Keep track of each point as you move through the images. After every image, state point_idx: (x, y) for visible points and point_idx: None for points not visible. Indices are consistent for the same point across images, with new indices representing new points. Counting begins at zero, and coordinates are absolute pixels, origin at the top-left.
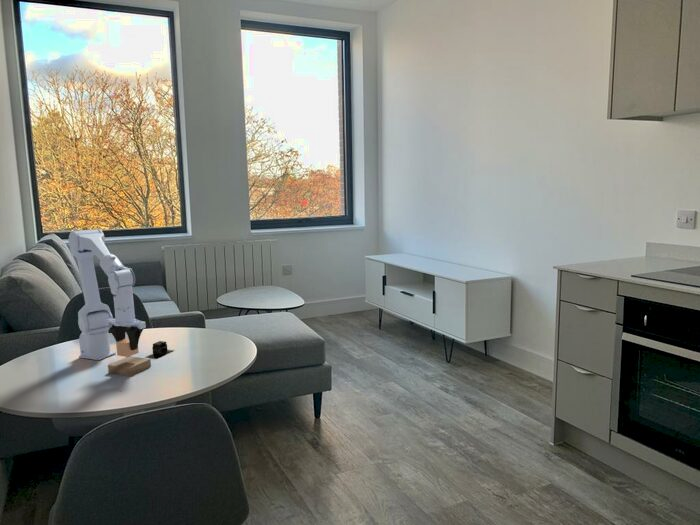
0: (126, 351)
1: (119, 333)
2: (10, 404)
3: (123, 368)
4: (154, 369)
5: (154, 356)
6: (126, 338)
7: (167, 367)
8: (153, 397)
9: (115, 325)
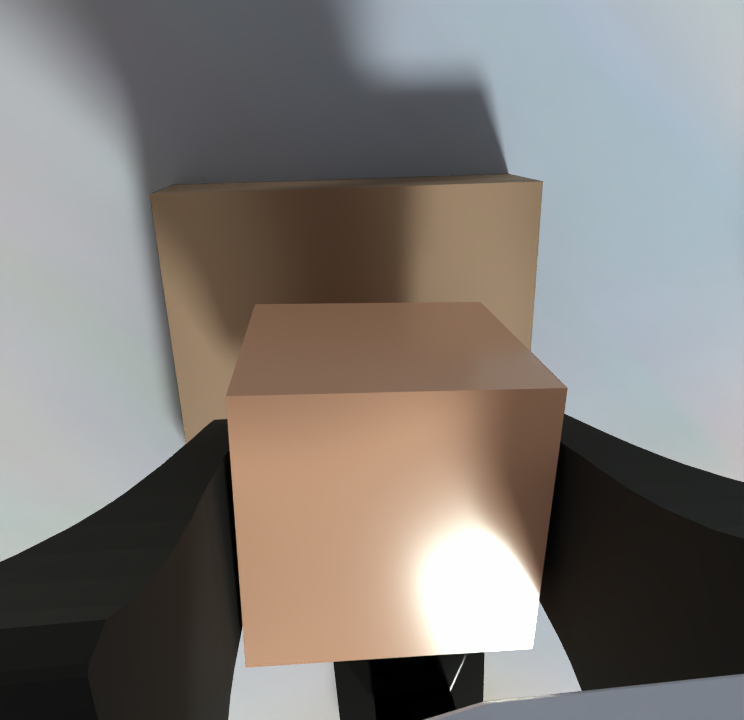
0: (261, 331)
1: (641, 615)
2: None
3: (264, 188)
4: (102, 439)
5: (399, 664)
6: (514, 619)
7: (27, 527)
8: None
9: (710, 707)
